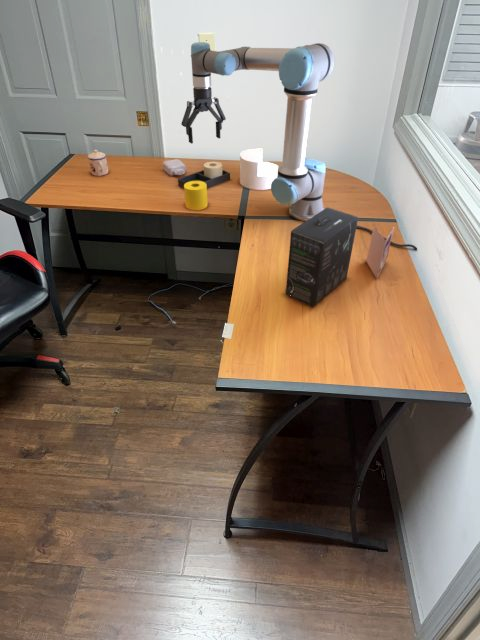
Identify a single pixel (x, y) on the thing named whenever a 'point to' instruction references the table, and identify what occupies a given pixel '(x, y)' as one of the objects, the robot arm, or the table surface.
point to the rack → (204, 179)
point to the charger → (174, 167)
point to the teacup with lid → (98, 163)
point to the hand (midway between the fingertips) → (204, 140)
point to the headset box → (320, 255)
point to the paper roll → (213, 169)
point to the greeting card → (378, 251)
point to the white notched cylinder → (256, 170)
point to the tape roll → (195, 195)
